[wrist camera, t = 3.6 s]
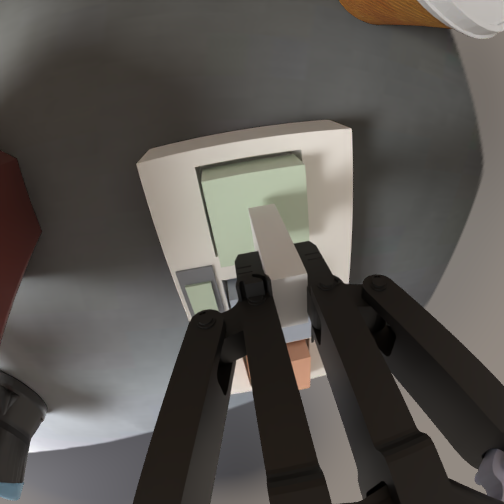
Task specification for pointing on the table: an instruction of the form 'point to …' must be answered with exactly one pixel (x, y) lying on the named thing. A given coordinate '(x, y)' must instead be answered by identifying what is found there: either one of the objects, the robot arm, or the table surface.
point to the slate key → (289, 332)
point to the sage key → (254, 201)
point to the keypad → (197, 218)
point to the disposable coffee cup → (433, 14)
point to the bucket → (14, 233)
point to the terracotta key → (299, 362)
